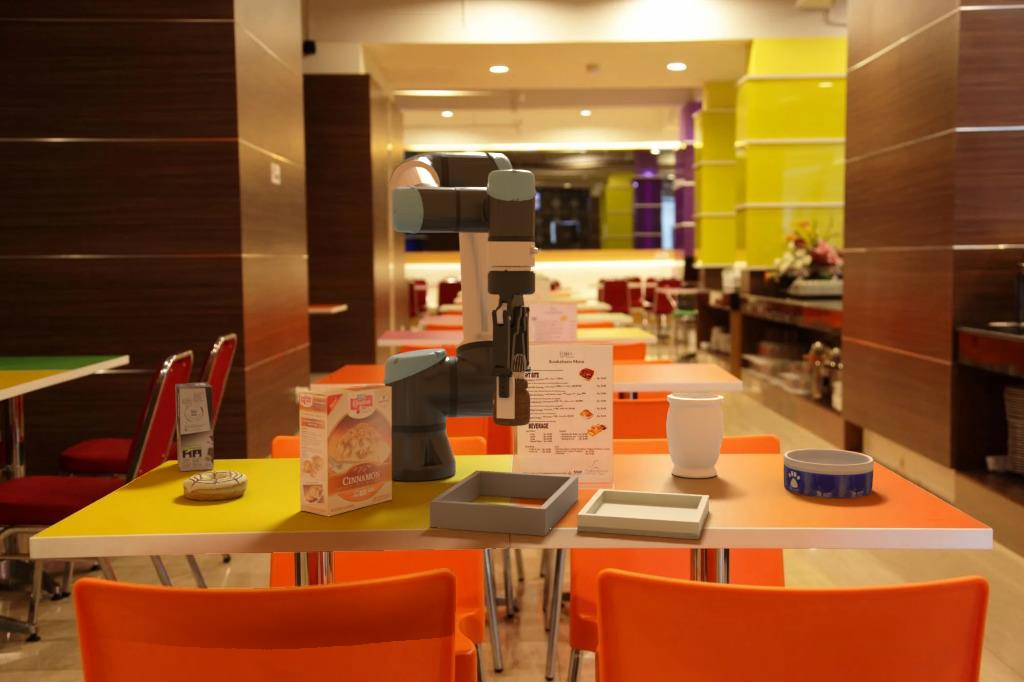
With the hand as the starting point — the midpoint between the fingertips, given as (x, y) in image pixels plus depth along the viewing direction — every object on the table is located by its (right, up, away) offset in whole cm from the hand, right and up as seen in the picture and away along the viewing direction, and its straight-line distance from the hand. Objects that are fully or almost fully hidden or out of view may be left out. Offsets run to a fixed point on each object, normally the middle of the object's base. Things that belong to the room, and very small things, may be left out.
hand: (511, 414), depth 167 cm
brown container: (0, -2, 0) cm, 2 cm away
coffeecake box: (-27, -16, +7) cm, 32 cm away
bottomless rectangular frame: (0, -16, +1) cm, 16 cm away
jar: (+35, -14, +31) cm, 49 cm away
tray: (+21, -16, -3) cm, 27 cm away
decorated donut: (-51, -15, +14) cm, 55 cm away
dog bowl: (+56, -15, +19) cm, 61 cm away
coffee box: (-62, -13, +39) cm, 74 cm away
